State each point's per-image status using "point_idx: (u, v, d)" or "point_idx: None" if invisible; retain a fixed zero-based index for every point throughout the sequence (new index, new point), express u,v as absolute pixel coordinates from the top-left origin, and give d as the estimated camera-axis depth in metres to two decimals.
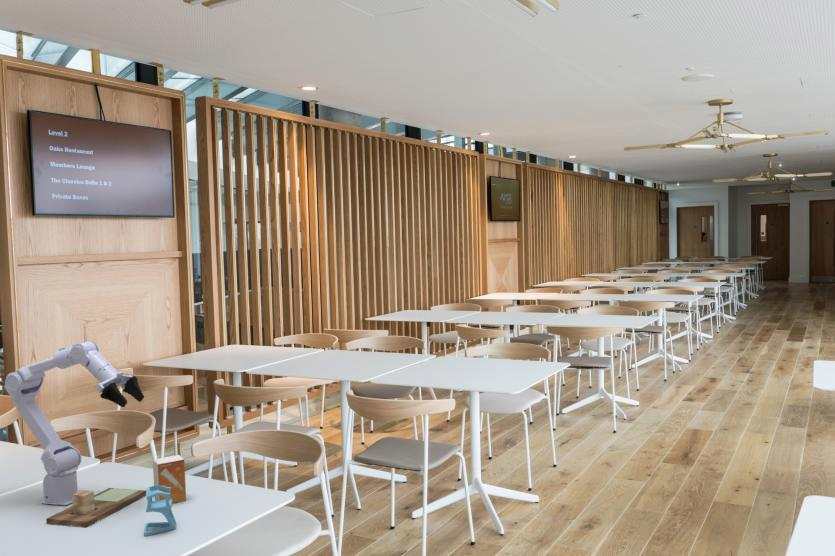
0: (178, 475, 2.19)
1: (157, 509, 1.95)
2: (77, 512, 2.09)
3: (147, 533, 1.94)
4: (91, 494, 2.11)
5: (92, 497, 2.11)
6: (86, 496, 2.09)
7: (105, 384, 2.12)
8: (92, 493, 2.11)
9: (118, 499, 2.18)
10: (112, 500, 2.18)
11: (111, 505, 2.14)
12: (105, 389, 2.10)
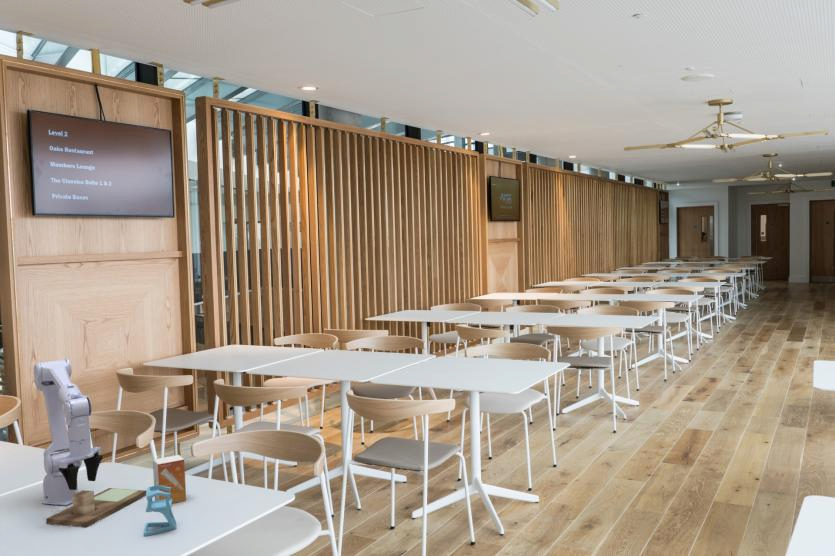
0: (178, 475, 2.19)
1: (157, 509, 1.95)
2: (77, 512, 2.09)
3: (147, 533, 1.94)
4: (91, 494, 2.11)
5: (92, 497, 2.11)
6: (86, 496, 2.09)
7: (70, 461, 2.05)
8: (92, 493, 2.11)
9: (118, 499, 2.18)
10: (112, 500, 2.18)
11: (111, 505, 2.14)
12: (66, 468, 2.04)
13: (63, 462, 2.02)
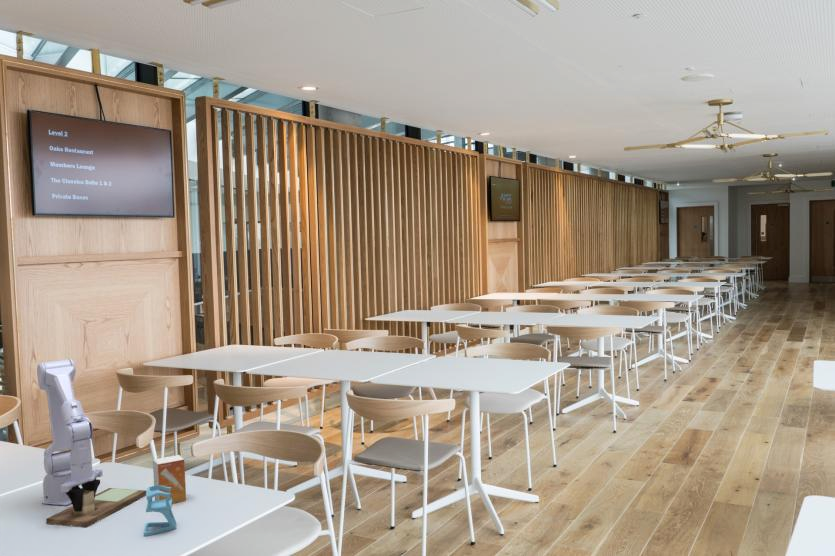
0: (178, 475, 2.19)
1: (157, 509, 1.95)
2: (77, 512, 2.09)
3: (147, 533, 1.94)
4: (91, 494, 2.11)
5: (92, 497, 2.11)
6: (86, 496, 2.09)
7: None
8: (92, 493, 2.11)
9: (118, 499, 2.18)
10: (112, 500, 2.18)
11: (111, 505, 2.14)
12: (72, 490, 2.05)
13: (65, 486, 2.03)
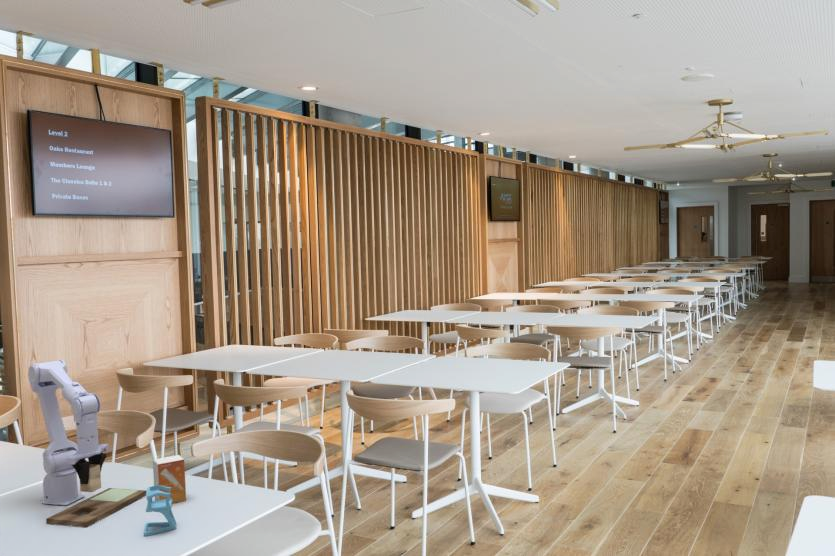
0: (178, 475, 2.19)
1: (157, 509, 1.95)
2: (84, 485, 2.11)
3: (147, 533, 1.94)
4: (97, 468, 2.13)
5: (98, 471, 2.14)
6: (93, 470, 2.11)
7: None
8: (98, 467, 2.14)
9: (118, 499, 2.18)
10: (112, 500, 2.18)
11: (111, 505, 2.14)
12: (78, 463, 2.08)
13: (71, 458, 2.06)
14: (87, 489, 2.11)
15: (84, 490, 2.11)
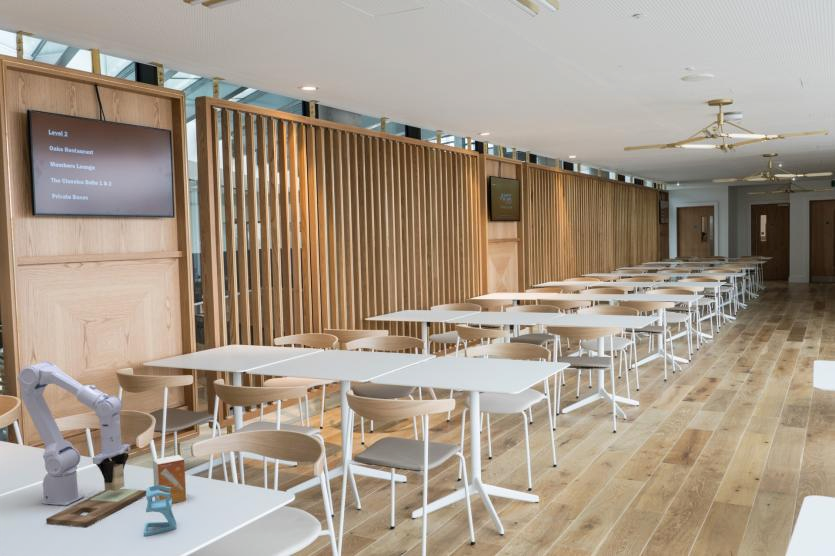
0: (178, 475, 2.19)
1: (157, 509, 1.95)
2: (108, 484, 2.21)
3: (147, 533, 1.94)
4: (121, 467, 2.23)
5: (122, 470, 2.23)
6: (116, 469, 2.21)
7: None
8: (122, 466, 2.23)
9: (118, 499, 2.18)
10: (112, 500, 2.18)
11: (111, 505, 2.14)
12: (103, 462, 2.18)
13: (96, 458, 2.15)
14: (111, 487, 2.20)
15: (108, 488, 2.21)
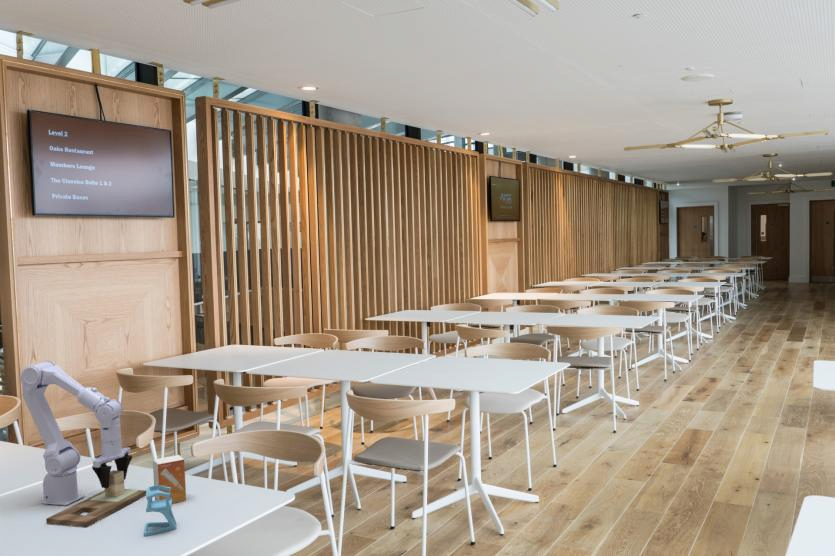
0: (178, 475, 2.19)
1: (157, 509, 1.95)
2: (108, 490, 2.21)
3: (147, 533, 1.94)
4: (121, 474, 2.23)
5: (122, 477, 2.23)
6: (117, 476, 2.21)
7: None
8: (122, 473, 2.23)
9: (118, 499, 2.18)
10: (112, 500, 2.18)
11: (111, 505, 2.14)
12: (100, 468, 2.16)
13: (97, 462, 2.15)
14: (111, 494, 2.21)
15: (109, 495, 2.21)
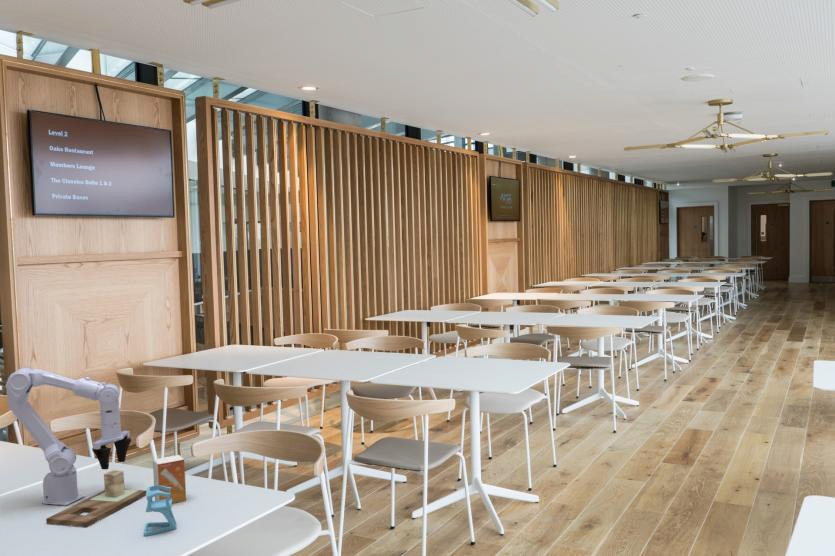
0: (178, 475, 2.19)
1: (157, 509, 1.95)
2: (108, 490, 2.21)
3: (147, 533, 1.94)
4: (121, 474, 2.23)
5: (122, 477, 2.23)
6: (117, 476, 2.21)
7: (103, 443, 2.23)
8: (122, 473, 2.23)
9: (118, 499, 2.18)
10: (112, 500, 2.18)
11: (111, 505, 2.14)
12: (99, 449, 2.22)
13: (96, 443, 2.21)
14: (111, 494, 2.21)
15: (109, 495, 2.21)
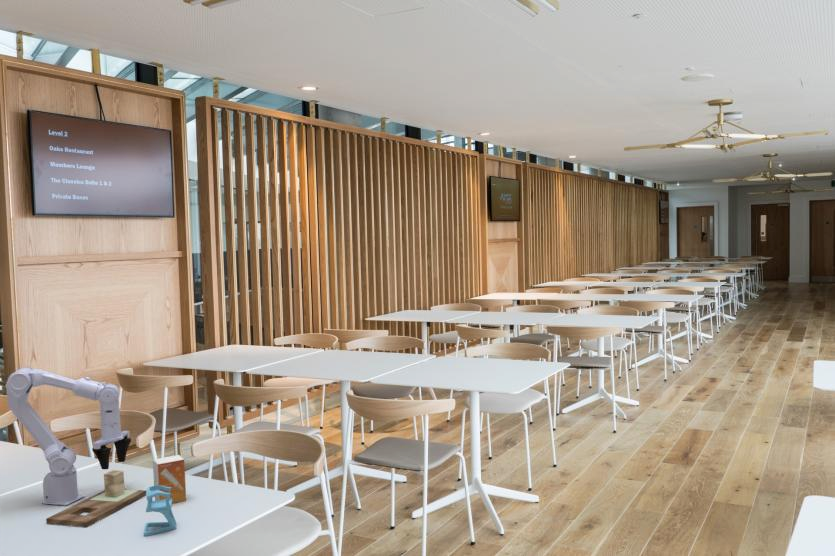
0: (178, 475, 2.19)
1: (157, 509, 1.95)
2: (108, 490, 2.21)
3: (147, 533, 1.94)
4: (121, 474, 2.23)
5: (122, 477, 2.23)
6: (117, 476, 2.21)
7: None
8: (122, 473, 2.23)
9: (118, 499, 2.18)
10: (112, 500, 2.18)
11: (111, 505, 2.14)
12: (99, 449, 2.22)
13: (97, 443, 2.21)
14: (111, 494, 2.21)
15: (109, 495, 2.21)
